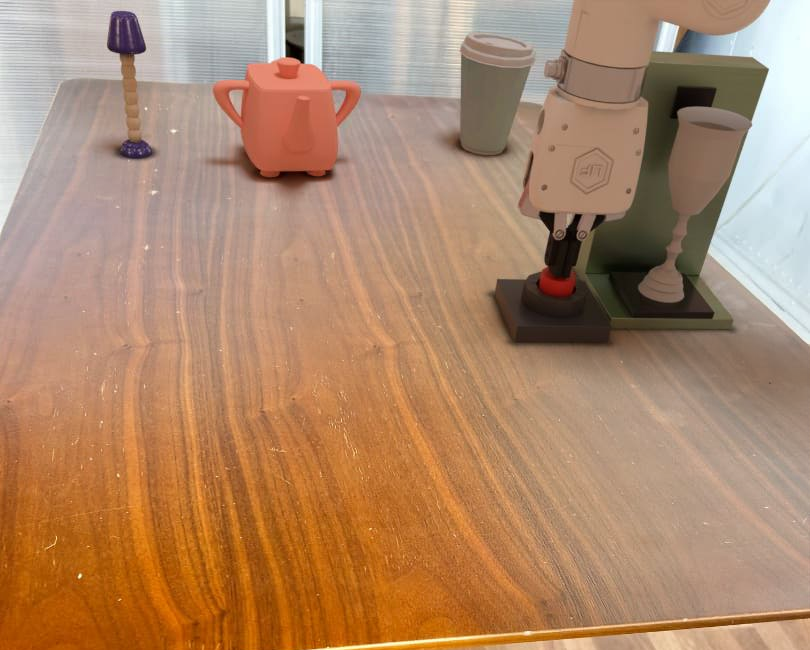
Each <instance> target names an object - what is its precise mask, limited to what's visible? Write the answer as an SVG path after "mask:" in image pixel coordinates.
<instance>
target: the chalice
mask: <svg viewBox="0 0 810 650" xmlns="http://www.w3.org/2000/svg"><path fill="white" fill-rule="evenodd" d="M677 113H678V120H679V128H678V131H677V135H676V138H675V142H674V145H673V149H672V152H671V156H670V159H669V163H668V174H669V189H670V195H671V201H672V206H673V209H674V210H675V211H676V212H678V213H679V221H678V222H677V224H676V226H675V228H674V229H672V234H673V240H672V242H671V243H670V245H668V246H666V250H667V259H666V261H665V263H664V264H662V265H661V266H656V267H654V268H653V269H652V270H650V271H649V274H648V275H647V276H645V278H644V280H643V281H642V282H641V283H640V284H639V285H638V290H639V291H640V293H642V294H643V295H644V296H646V297H648V298H650V299H652V300H656V301H660V302H671V303H673V302H678V301H680V300H682V299H683V298H684V292H683V283H682V281H683V278H682V276H681V274H680V272H679V271H678V270H676V267H675V259H676V258H677V256H678V254H679V253H681V252H682V251H683V250H682V248H681V241H682V239H683V237H684V236H685V235H687V231H686V227H687V221H688V219H689V217H690V216H691V215H697V214H699V213H700V212H701V211H702V210H703V209H704V208H705V206H706V205H707V204H708V203H709V202H710V201H711V200H712V199H713V197H714V196H715V195H716V194H717V193H718V192H719V190H720V189H721V187H722V186H723V184H724V183H725V182H726V180H727V179H728V177H729V176H730V173H731V170H732V167H733V164H734V161H735V158H736V155H737V153H738V150H739V147H740V144H741V141H742V138H743V136H744V134H745V133H746V132H747V131H748V130H749V131H750V129H751V128H752V127H753V122H751V121H750V120H749V119H747V118H746V117H744V116H742V115H740V114H737V113H734V112H731V111H727V110H722V109H718V108H710V107H686V108H682V109H680V110H679V111H678V112H677ZM749 131H748V132H749Z"/></svg>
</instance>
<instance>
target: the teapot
mask: <svg viewBox="0 0 810 650" xmlns="http://www.w3.org/2000/svg"><path fill="white" fill-rule="evenodd" d="M236 90H237V91H238V90H239V91H240V90H241V91H242V93H241V94H242V96H241V104H240V114H239V113H238V111H237V110H236V108H235V106H234V104H233V102H232V101H231V98H230V92H231V91H236ZM333 91H343V92H345V97H344V100H343V102H342V104H341V106H340V108H339V109H338V111H337V112H336V106H335V100H334V94H333ZM212 93H213V97H214V100H215V101H216V103H217V104H218V106H219V107H220V109H221V110H222V111H223V113H225V115H227V117H228V118H229V119H230V120H231V121H232V122H233V123H234V124H235V125H236V126H238V127H239V129H240V136H241V140H242V144H243V147H244V149H245V152H246V155H247V157H248V159H249V160H250V162H251V163H252V164H253V165H254V166H255V167H256V168H257V169H258V170H259V171H260V172H259V174H260V175H261V176H262V177H265V178H275V177H278V176H280V174H281V172H306V174H308V175H309V176H313V177H322V176H325V175H326V171H329V170H332V169H333V168H334V167H335V164H336V161H337V158H338V153H339V136H338V135H339V133H338V127H339V126H341V125H342V123H343V122H344V121H345V120H346V119H347V118H348V117H349V116H350V114H352V112H353V110H354V109H355V108H356V106H357V105H358V103H359V100H360V98H361V95H362V88H361V86H360V85H359V84H358V83H357V82H355V81H351V80H344V79H343V80H339V79H338V80H329V79H328V77H327V76H326V74H325V73H324V72H323V71H322V70H321V69H320V68H319V67H318V66H317V65H315V64H313V63H301V61H300V59H297V58H294V57H287V56H285V57H279V58H277V59H274V60H272V61H271V62H253V63H252V62H251V63H249V64H248V65H247V67H246V69H245V76H244V80H243V79H222V80H219V81H216V82H215V83H214V84H213V86H212Z"/></svg>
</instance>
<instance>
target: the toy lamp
mask: <svg viewBox="0 0 810 650" xmlns="http://www.w3.org/2000/svg"><path fill="white" fill-rule="evenodd" d="M106 47H107V49H108V51H109V52H111V53H115V54H118V55H119V60H120V63H121V65H120V72H121V75H122V80H121V82H122V88H123V100H124V102H125V104H124V111H125V115H126V119H125V120H126V121H125V122H126V126H127V128H128V129H127V138H128V139H126V140H124V141H123V143H121V146H120V148H119V154H120V156H122V157H124V158H127V159H133V160H135V159H136V160H138V159H146V158H150V157H151V156H153V154H154V153H153V149H152V146H150V144H149V143H148V142H147V141H145V140H144V139H142V137H143V135H142V130H141V119H140V117H139V116H140V112H141V111H140V106H139V104H138V102H139V94H138V92H137V88H138V82H137V78H136V74H137V71H136V69H137V68H136V66H135V60H136V58H135V55H141V54H143V53H145V52H146V51H147V46H146V42H145V38H144V35H143V33H142V29H141V24H140V21H139V20H138V17H137V15H136V13H134V12H133V11H127V10H114V11H112V12H111V13H110V17H109V25H108V32H107V41H106Z"/></svg>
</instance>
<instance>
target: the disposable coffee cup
mask: <svg viewBox="0 0 810 650" xmlns="http://www.w3.org/2000/svg"><path fill="white" fill-rule="evenodd" d="M459 53H460V115H459V116H460V117H459V118H460V125H459V127H460V129H459V141H460V143H461V144H460V145H461V147H462V148H463V149H464V150H465V151H467V152H469V153H472V154H475V155H482V156H496V155H499V154H502V153H503V151H504V150H505V148H506V145H507V143H508V139H509V136H510V133H511V130H512V127H513V124H514V121H515V119H516V118H515V117H516V115H517V111H518V108H519V105H520V103H521V99H522V95H523V93H524V90H525V87H526V83H527V81H528V78H529V74H530V71H531V69H532V66H534V65H535V62H536V51H535V50H534V46H533V45H532V44H530V43H529V42H527V41H525V40H523V39H520V38H517V37H513V36H510V35H504V34H499V33H492V32H479V31H478V32H469V33H467V35H465V38H464V39H463V40H462V42H461V44H460V50H459Z"/></svg>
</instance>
